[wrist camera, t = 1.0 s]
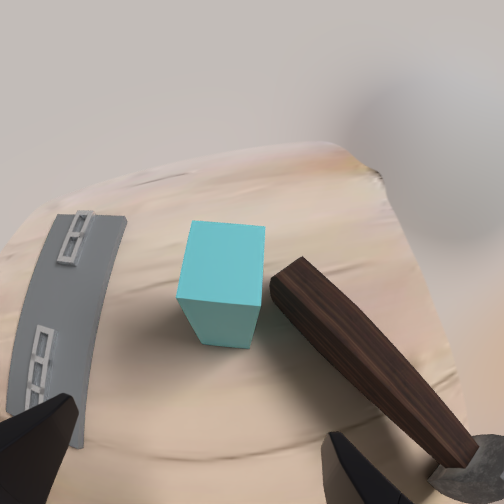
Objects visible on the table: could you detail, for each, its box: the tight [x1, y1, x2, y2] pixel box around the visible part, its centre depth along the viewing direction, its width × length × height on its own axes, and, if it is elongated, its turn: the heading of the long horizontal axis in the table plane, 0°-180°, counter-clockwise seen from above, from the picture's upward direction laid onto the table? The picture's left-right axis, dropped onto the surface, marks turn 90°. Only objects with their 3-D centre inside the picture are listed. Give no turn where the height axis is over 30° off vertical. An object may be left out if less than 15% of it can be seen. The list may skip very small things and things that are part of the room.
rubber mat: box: [6, 214, 127, 449], centre depth 21 cm, size 24×10×1 cm, turn 177°
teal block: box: [176, 221, 265, 349], centre depth 18 cm, size 4×4×11 cm
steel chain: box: [25, 211, 96, 411], centre depth 21 cm, size 23×2×1 cm, turn 177°
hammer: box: [270, 256, 504, 504], centre depth 16 cm, size 5×11×30 cm
